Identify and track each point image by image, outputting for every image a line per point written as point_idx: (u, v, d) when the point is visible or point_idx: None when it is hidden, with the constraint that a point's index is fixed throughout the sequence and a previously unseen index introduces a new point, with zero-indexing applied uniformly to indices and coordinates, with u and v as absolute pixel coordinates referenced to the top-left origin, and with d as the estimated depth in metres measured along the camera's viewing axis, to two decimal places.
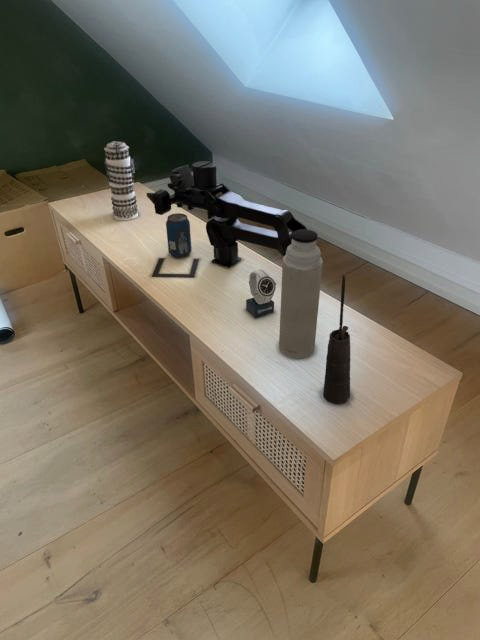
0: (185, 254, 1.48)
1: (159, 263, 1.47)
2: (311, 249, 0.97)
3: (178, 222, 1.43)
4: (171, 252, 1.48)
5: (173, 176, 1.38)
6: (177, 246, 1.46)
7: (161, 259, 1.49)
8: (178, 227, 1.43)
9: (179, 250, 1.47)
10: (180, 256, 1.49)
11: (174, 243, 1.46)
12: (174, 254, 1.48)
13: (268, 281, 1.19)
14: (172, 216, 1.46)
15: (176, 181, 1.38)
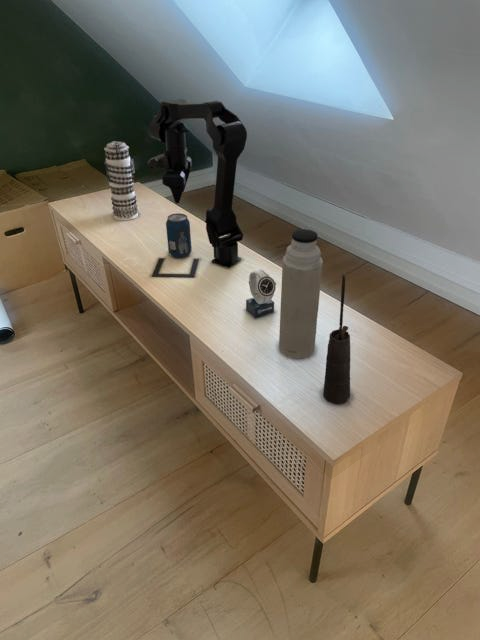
0: (185, 254, 1.48)
1: (159, 263, 1.47)
2: (311, 249, 0.97)
3: (178, 222, 1.43)
4: (171, 252, 1.48)
5: (150, 165, 1.45)
6: (177, 246, 1.46)
7: (161, 259, 1.49)
8: (178, 227, 1.43)
9: (179, 250, 1.47)
10: (180, 256, 1.49)
11: (174, 243, 1.46)
12: (174, 254, 1.48)
13: (268, 281, 1.19)
14: (172, 216, 1.46)
15: (154, 161, 1.45)
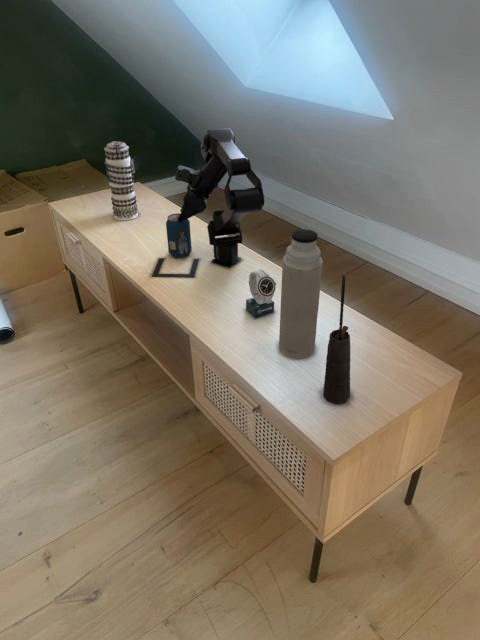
0: (185, 254, 1.48)
1: (159, 263, 1.47)
2: (311, 249, 0.97)
3: (178, 222, 1.43)
4: (171, 252, 1.48)
5: (181, 173, 1.33)
6: (177, 246, 1.46)
7: (161, 259, 1.49)
8: (178, 227, 1.43)
9: (179, 250, 1.47)
10: (180, 256, 1.49)
11: (174, 243, 1.46)
12: (174, 254, 1.48)
13: (268, 281, 1.19)
14: (172, 216, 1.46)
15: (187, 173, 1.33)
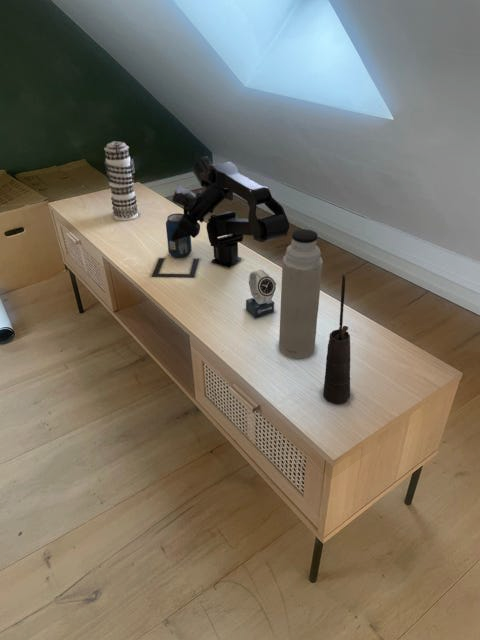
0: (185, 254, 1.48)
1: (159, 263, 1.47)
2: (311, 249, 0.97)
3: None
4: (171, 252, 1.48)
5: (178, 197, 1.37)
6: (177, 246, 1.46)
7: (161, 259, 1.49)
8: None
9: (179, 250, 1.47)
10: (180, 256, 1.49)
11: (174, 243, 1.46)
12: (174, 254, 1.48)
13: (268, 281, 1.19)
14: (172, 216, 1.46)
15: (184, 198, 1.37)
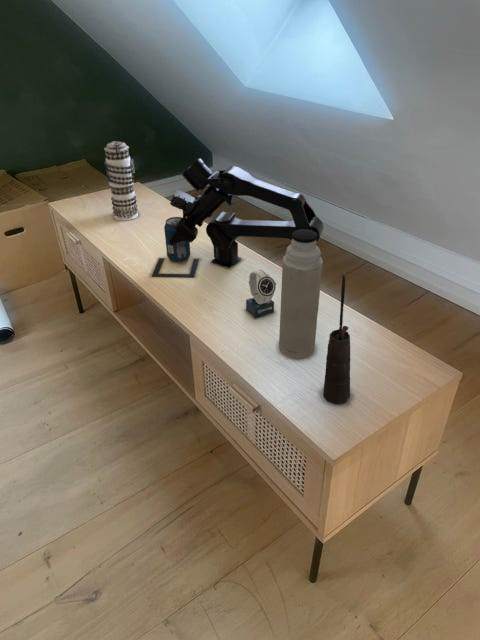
0: (183, 258, 1.46)
1: (159, 263, 1.47)
2: (311, 249, 0.97)
3: None
4: (169, 256, 1.46)
5: (176, 200, 1.35)
6: (175, 250, 1.44)
7: (161, 259, 1.49)
8: None
9: (177, 255, 1.45)
10: (179, 261, 1.46)
11: (172, 247, 1.44)
12: (172, 258, 1.46)
13: (268, 281, 1.19)
14: (171, 220, 1.44)
15: (181, 202, 1.35)
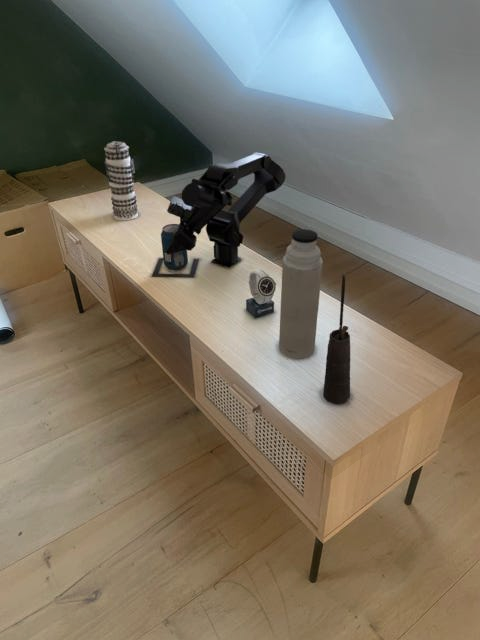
0: (181, 266, 1.42)
1: (159, 263, 1.47)
2: (311, 249, 0.97)
3: None
4: (166, 264, 1.42)
5: (173, 208, 1.30)
6: (173, 258, 1.40)
7: (161, 259, 1.49)
8: None
9: (174, 263, 1.41)
10: (176, 269, 1.42)
11: (169, 255, 1.40)
12: (169, 266, 1.42)
13: (268, 281, 1.19)
14: (167, 227, 1.40)
15: (179, 209, 1.31)
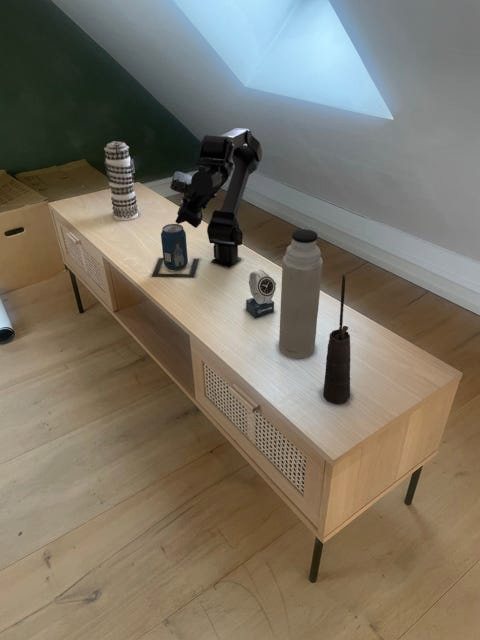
0: (181, 266, 1.42)
1: (159, 263, 1.47)
2: (311, 249, 0.97)
3: (173, 233, 1.37)
4: (166, 264, 1.42)
5: (176, 184, 1.26)
6: (173, 258, 1.40)
7: (161, 259, 1.49)
8: (173, 238, 1.37)
9: (174, 263, 1.41)
10: (176, 269, 1.42)
11: (169, 255, 1.40)
12: (169, 266, 1.42)
13: (268, 281, 1.19)
14: (167, 227, 1.40)
15: (182, 185, 1.26)
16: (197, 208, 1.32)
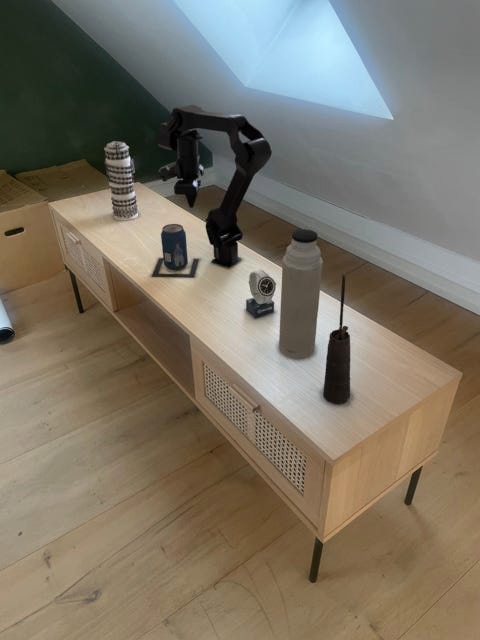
0: (181, 266, 1.42)
1: (159, 263, 1.47)
2: (311, 249, 0.97)
3: (173, 233, 1.37)
4: (166, 264, 1.42)
5: (161, 174, 1.39)
6: (173, 258, 1.40)
7: (161, 259, 1.49)
8: (173, 238, 1.37)
9: (174, 263, 1.41)
10: (176, 269, 1.42)
11: (169, 255, 1.40)
12: (169, 266, 1.42)
13: (268, 281, 1.19)
14: (167, 227, 1.40)
15: (165, 170, 1.38)
16: None
